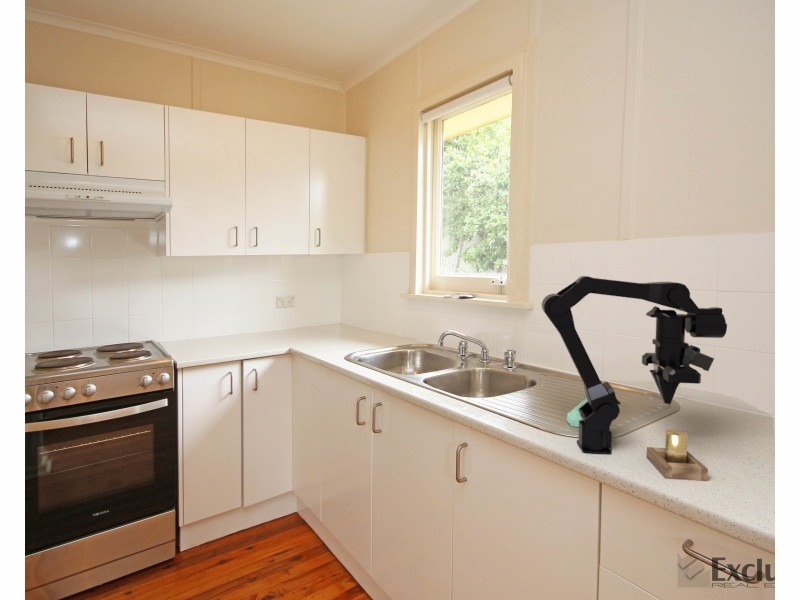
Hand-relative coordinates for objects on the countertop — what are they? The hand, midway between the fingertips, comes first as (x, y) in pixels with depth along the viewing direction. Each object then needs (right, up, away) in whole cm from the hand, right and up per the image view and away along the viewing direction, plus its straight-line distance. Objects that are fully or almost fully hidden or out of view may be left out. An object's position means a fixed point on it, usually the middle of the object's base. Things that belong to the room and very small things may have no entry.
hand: (667, 403), depth 104 cm
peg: (-2, -13, -7) cm, 14 cm away
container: (-7, -10, +28) cm, 30 cm away
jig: (-2, -13, -7) cm, 14 cm away
